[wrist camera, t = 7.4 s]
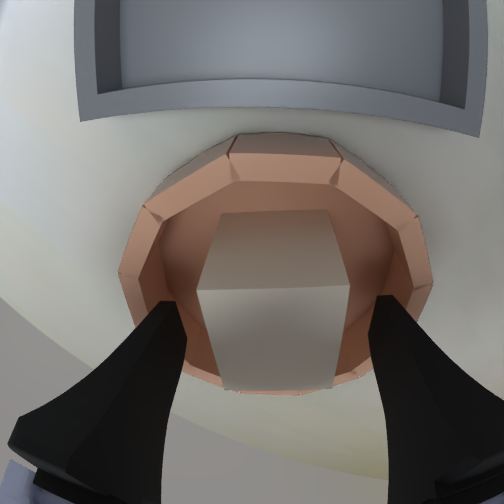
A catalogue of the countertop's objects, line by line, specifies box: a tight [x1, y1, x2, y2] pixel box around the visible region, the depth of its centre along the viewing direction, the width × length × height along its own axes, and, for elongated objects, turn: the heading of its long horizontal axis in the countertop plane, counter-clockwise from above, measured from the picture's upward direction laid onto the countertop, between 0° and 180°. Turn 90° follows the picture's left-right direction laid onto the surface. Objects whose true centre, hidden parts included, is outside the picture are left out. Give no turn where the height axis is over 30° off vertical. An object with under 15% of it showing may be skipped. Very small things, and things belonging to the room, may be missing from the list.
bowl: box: [118, 132, 433, 395], centre depth 12 cm, size 12×12×3 cm
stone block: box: [196, 209, 350, 391], centre depth 11 cm, size 4×5×4 cm
